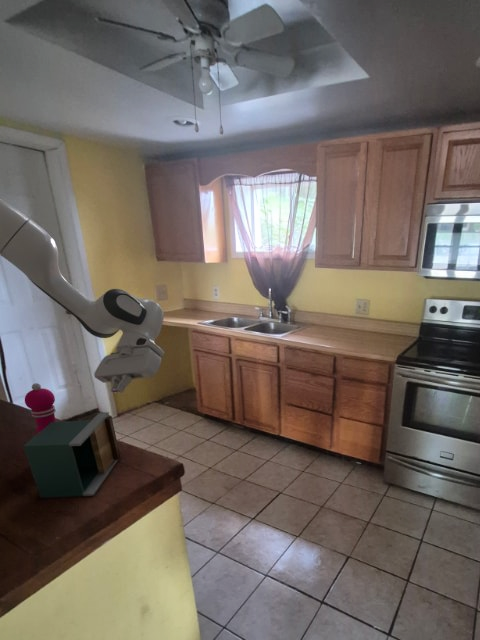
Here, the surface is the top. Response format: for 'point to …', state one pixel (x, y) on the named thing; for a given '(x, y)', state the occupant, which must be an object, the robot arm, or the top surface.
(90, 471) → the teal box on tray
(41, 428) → the pepper mill
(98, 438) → the sliding door
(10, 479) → the top surface
